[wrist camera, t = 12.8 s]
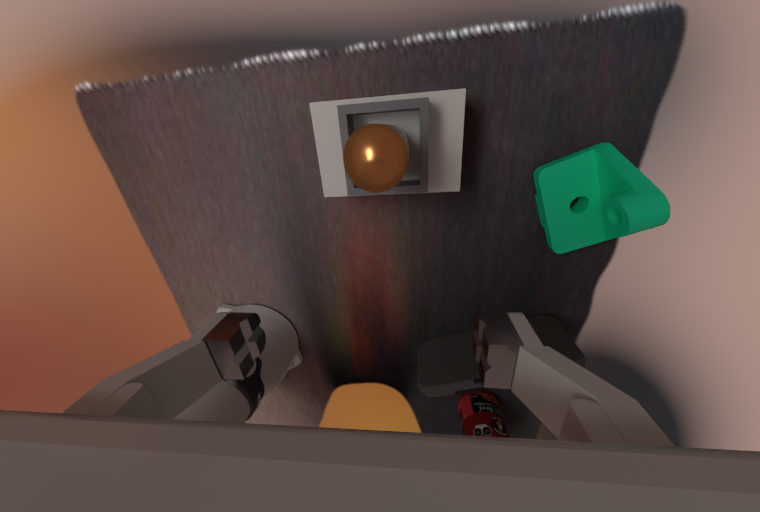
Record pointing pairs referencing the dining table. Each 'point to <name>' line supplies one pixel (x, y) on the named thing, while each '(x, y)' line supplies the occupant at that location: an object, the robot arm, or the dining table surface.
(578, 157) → the camera mount
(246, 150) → the dining table surface
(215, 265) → the dining table surface
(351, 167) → the glass jar
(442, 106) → the grey pedestal block
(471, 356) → the handheld gaming console
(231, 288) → the dining table surface
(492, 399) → the canned food
